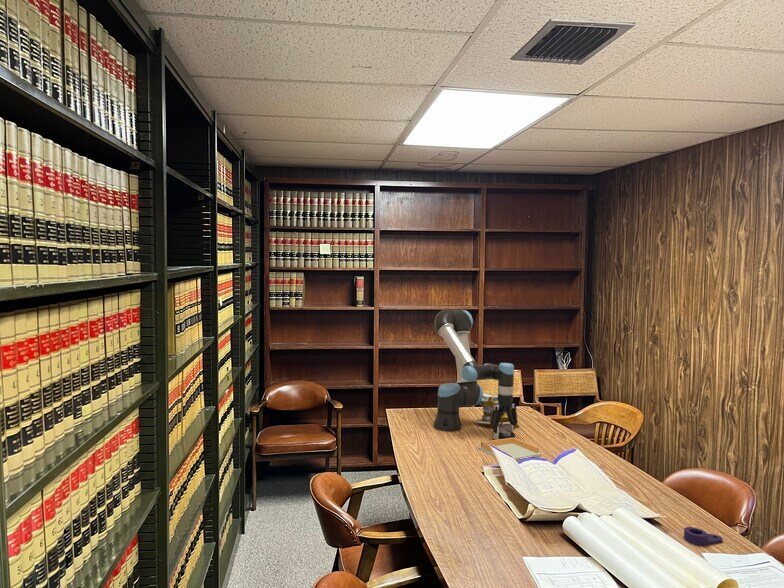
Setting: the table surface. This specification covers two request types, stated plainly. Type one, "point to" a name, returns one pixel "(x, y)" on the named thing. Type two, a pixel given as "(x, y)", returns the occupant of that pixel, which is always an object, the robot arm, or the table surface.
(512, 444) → the shallow square tray
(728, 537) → the table surface
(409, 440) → the table surface
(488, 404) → the stacked cans on tray
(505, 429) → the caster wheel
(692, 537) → the lever
